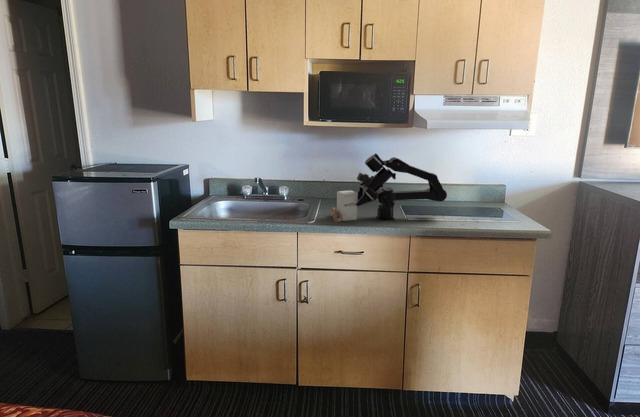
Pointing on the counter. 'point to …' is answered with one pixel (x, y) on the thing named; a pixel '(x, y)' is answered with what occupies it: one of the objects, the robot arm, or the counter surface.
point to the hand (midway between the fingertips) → (355, 203)
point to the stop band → (336, 216)
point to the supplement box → (347, 205)
